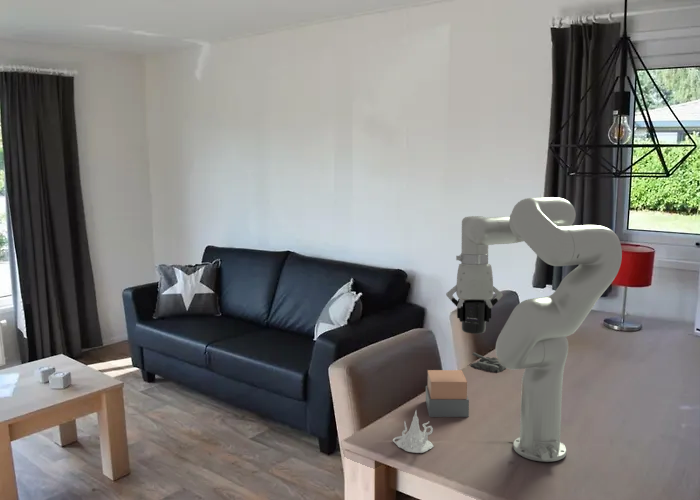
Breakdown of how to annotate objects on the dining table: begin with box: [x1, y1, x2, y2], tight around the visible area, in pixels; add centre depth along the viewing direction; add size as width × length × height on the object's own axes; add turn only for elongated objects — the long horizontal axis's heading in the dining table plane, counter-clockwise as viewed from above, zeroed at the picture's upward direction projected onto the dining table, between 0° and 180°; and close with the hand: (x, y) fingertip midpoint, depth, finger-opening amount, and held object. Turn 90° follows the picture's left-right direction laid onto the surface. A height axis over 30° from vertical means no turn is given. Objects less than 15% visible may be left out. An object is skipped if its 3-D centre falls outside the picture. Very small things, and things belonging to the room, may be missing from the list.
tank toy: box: [469, 352, 507, 373], centre depth 208 cm, size 12×10×5 cm
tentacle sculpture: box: [392, 409, 434, 454], centre depth 150 cm, size 9×12×9 cm
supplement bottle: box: [461, 300, 487, 335], centre depth 172 cm, size 7×7×12 cm
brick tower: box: [425, 369, 470, 418], centre depth 172 cm, size 11×11×10 cm
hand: (474, 320), depth 172 cm, fingers closed on supplement bottle, 6 cm apart
